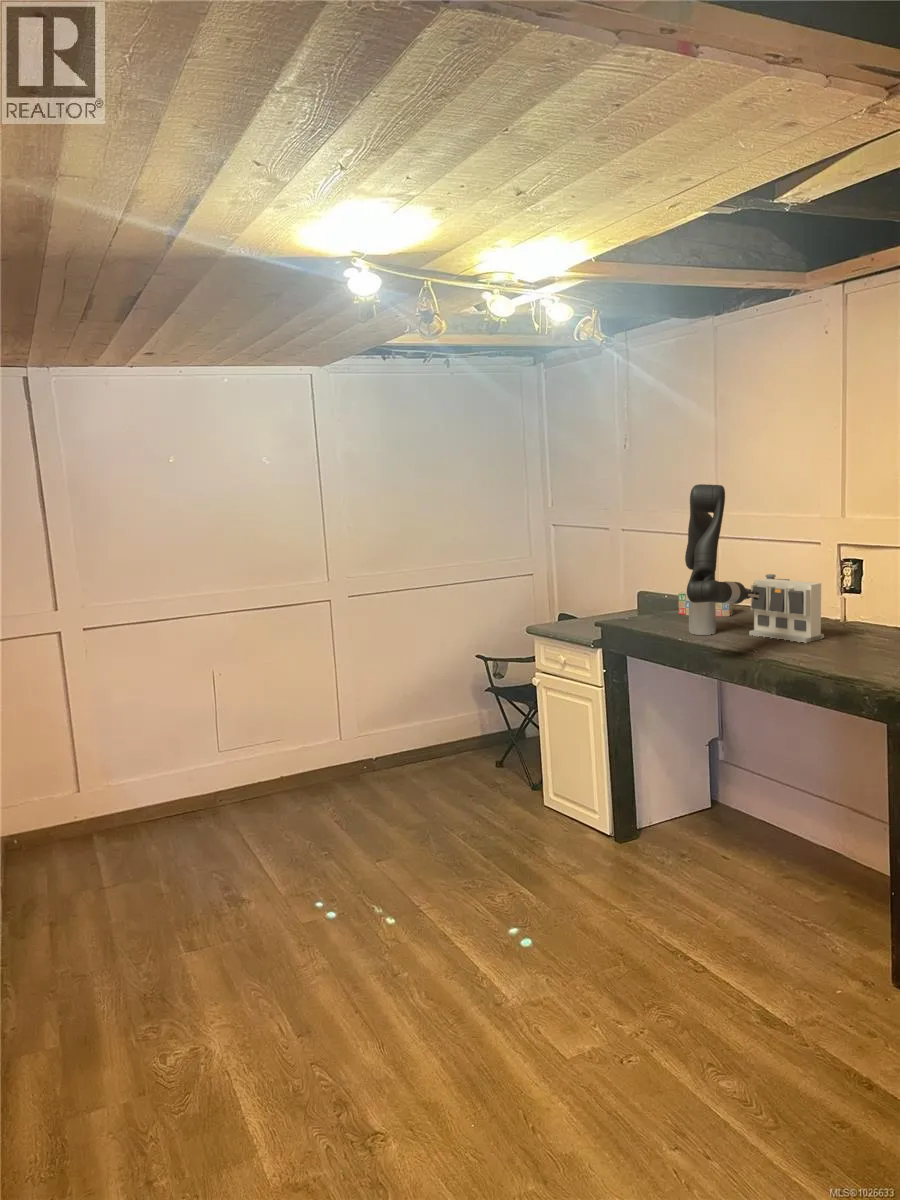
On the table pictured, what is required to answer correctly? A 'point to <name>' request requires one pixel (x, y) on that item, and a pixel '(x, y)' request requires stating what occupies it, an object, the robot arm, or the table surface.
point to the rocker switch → (760, 599)
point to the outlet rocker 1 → (777, 600)
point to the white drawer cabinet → (789, 613)
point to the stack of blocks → (720, 607)
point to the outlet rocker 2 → (796, 601)
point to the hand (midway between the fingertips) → (754, 593)
